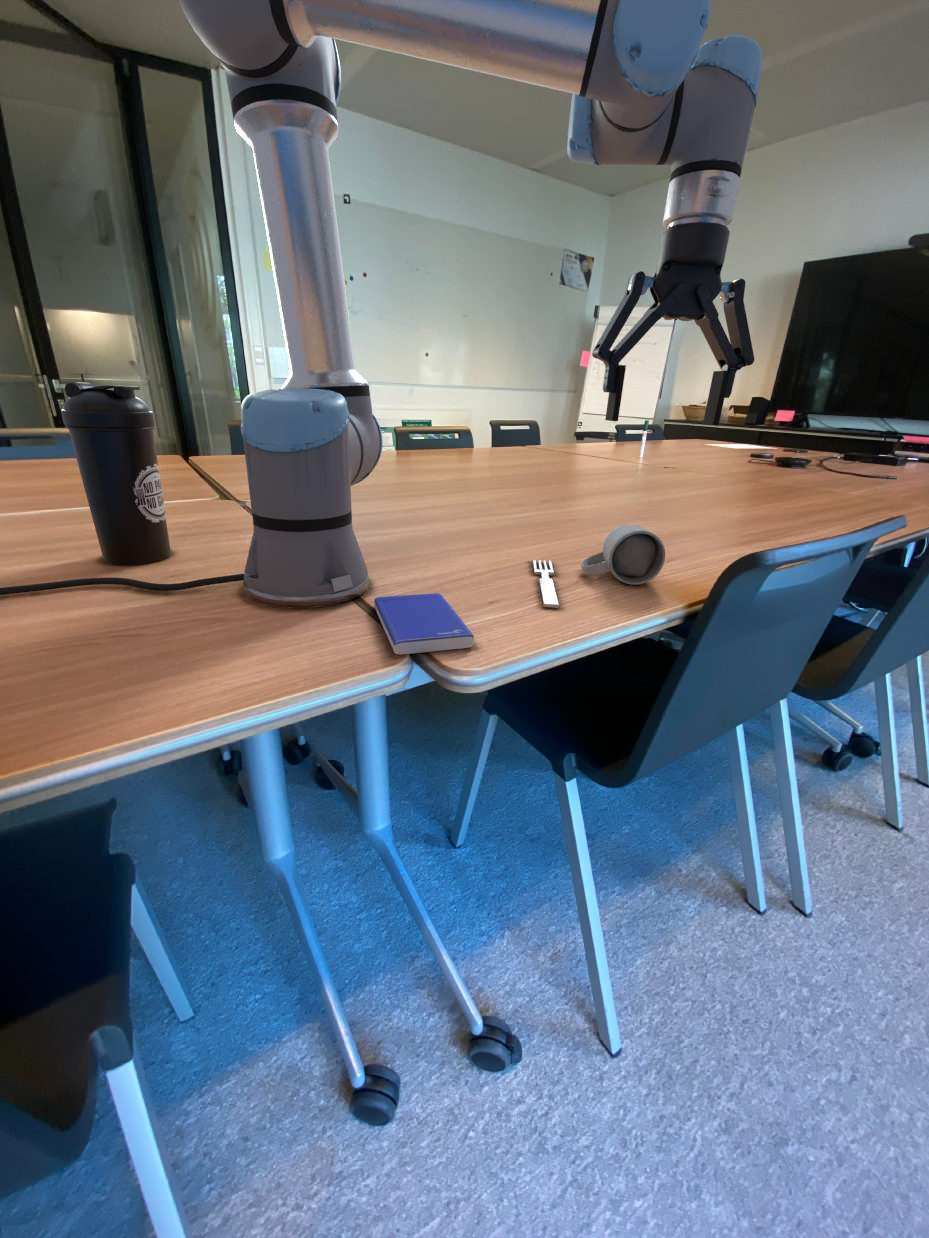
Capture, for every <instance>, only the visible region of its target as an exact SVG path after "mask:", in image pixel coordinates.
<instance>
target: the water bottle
mask: <svg viewBox="0 0 929 1238" xmlns="http://www.w3.org/2000/svg"><path fill="white" fill-rule="evenodd" d="M140 390H141V387H140V386H139V385H138V386H137V385H111V384H110V385H96V384H94V383H92V382H91V383H90V382H79V381H78V382H77V381H75V382H74V381H73V382H68V383H66V384H65V386H64V392H65V394H66V396H67V397H68V398H67V399H66V400H65V402H64V404H63V408H61V410H60V413H61V417H62V421H63V424H64V426H65V429H67V430H68V433H69V436H70V439H71V443H72V448H73V451H74V455H75V458H76V463H77V466H78V469H79V474H80V478H81V481H82V485H83V488H84V492H85V496H86V499H87V503H88V508H89V510H90V514H91V515H90V516H91V519H92V522H93V525H94V530H95V533H96V537H97V540H98V545H99V548H100V552H101V555H102V559H103V562H105V563H107V564H109V565H115V566H136V565H137V566H138V565H147V564H152V563H156V562H159V561H163V560H166V559H167V558H169V557H171V555H172V551H171V544H170V538H169V537H170V536H169V531H168V523H167V517H166V506H165V501H164V494H163V486H162V480H161V472H160V466H159V461H158V455H157V447H156V441H155V433H154V430H155V426H156V421H155V415H154V412H153V411H151V410H150V408H149V406H148V404H146V402H144V401H143V400H142V399H141V398H139V397H138V396H136V393H135V391H140Z"/></svg>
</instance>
